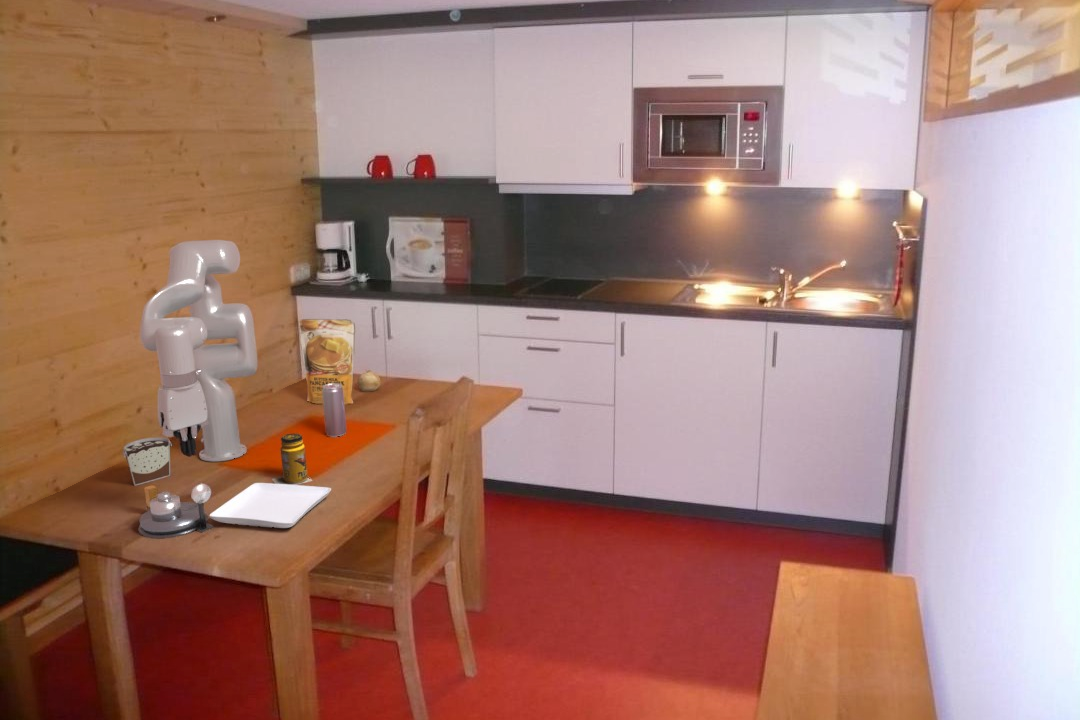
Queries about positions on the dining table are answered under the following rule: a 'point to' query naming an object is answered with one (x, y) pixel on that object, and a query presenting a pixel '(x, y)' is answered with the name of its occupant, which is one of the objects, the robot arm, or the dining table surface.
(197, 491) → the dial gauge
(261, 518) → the salad plate
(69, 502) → the dining table surface
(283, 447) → the condiment
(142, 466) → the food container
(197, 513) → the turntable
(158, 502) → the cover
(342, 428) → the beverage can
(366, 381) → the onion
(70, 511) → the dining table surface
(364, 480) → the dining table surface
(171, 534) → the turntable base
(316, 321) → the pancake mix bag
